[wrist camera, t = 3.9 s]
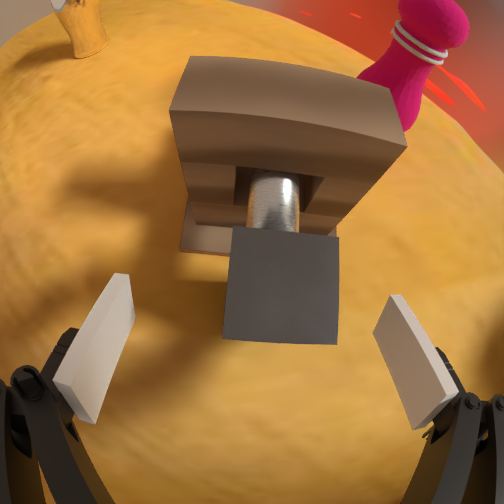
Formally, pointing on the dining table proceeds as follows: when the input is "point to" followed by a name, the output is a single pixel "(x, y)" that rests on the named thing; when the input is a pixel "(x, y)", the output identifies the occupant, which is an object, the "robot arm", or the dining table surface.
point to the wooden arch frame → (277, 142)
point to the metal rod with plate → (280, 270)
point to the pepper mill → (417, 51)
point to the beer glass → (82, 25)
